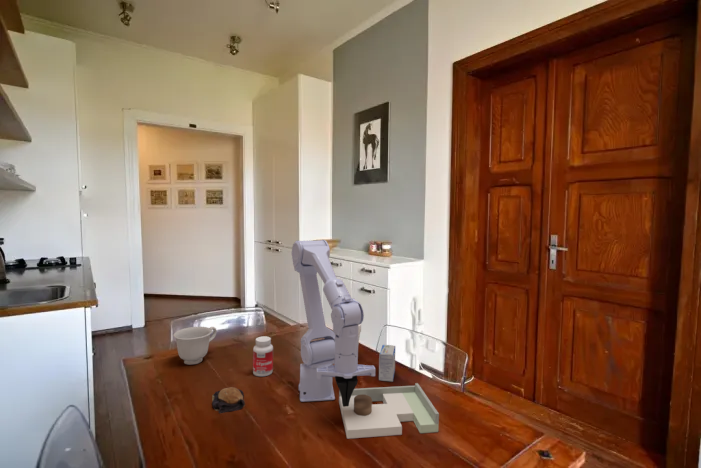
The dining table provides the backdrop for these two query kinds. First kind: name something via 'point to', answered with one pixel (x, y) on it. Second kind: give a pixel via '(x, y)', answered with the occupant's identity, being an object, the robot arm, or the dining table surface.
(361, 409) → the brown wooden cylinder
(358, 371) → the robot arm
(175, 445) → the dining table surface
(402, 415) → the box
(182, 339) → the teacup
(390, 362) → the medicine box
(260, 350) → the pill bottle
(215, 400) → the tan black low dome
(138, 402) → the dining table surface
